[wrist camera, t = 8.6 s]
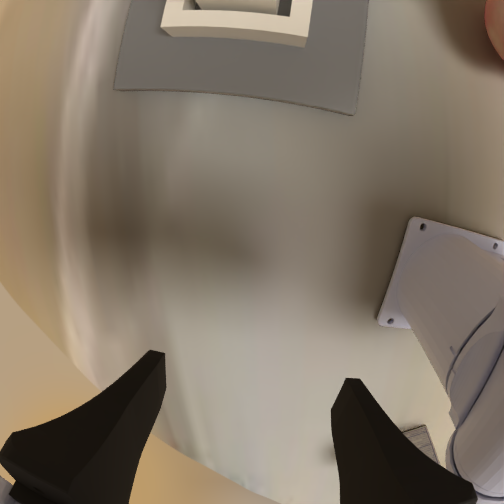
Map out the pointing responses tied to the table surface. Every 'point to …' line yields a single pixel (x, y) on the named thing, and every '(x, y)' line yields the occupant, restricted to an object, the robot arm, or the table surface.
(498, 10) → the decorative fruit
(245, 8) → the block
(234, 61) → the outlet plate
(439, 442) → the table surface
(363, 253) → the table surface
